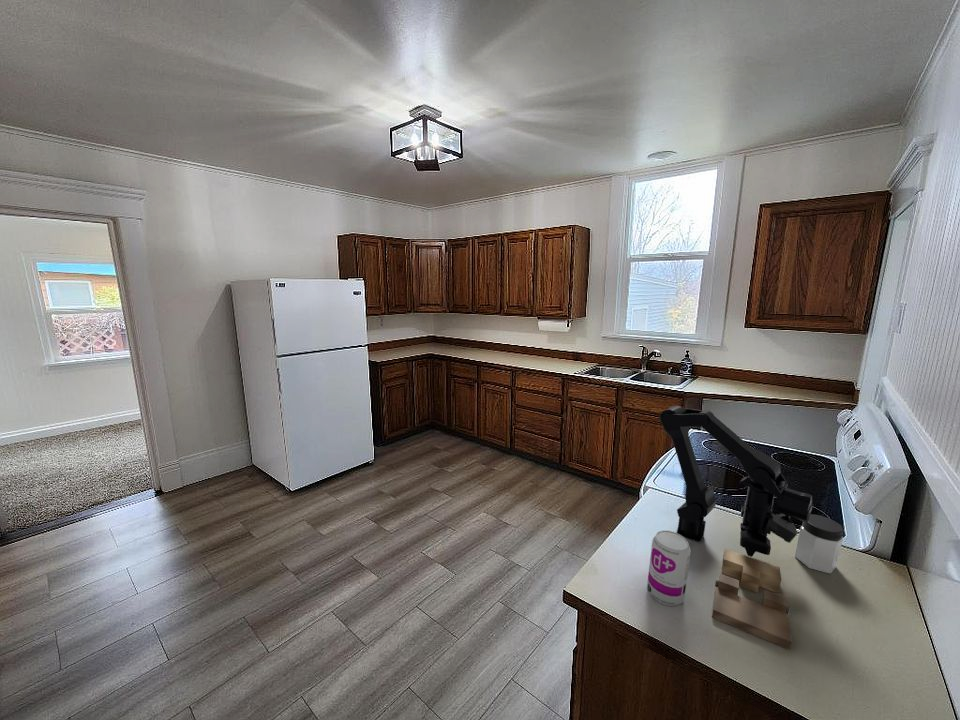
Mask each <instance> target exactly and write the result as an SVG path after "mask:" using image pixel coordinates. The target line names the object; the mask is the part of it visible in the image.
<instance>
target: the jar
mask: <svg viewBox="0 0 960 720" xmlns="http://www.w3.org/2000/svg"><path fill="white" fill-rule="evenodd" d="M844 531H845V530H844V527H843V526H842V525H841V524H840V523H838V522H836V521H835V520H833V519H831V518H829V517H827V516H826V517H825V516H823V515H819V514H812V513H811V514H810V517H809V520H808V522H804V521H802V525H801V526H800V527H799V533H798V538H797V543H796V548H795V552H794V557H795V558H796V559H797V560H799V561H800V562H802V563H801V564H804V565H805V566H806V567H807V568H808V569H811V570H815V571H819V572H822V573H825V574H832V573H833V572H834V570H835V569H836V568H837V565H838V561H839V556H840V552H841V548H842V544H843V539H844Z"/></svg>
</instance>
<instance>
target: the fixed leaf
mask: <svg viewBox="0 0 960 720" xmlns="http://www.w3.org/2000/svg"><path fill="white" fill-rule="evenodd" d="M718 577H719V578H718V579H715V584H714V586H715V590H714V596H713V606H712V615H711V617H712V618H714V619H716V620H717V621H720V622H723V623H726V624H728V625H729V626H733V627H734V628H737V629H740V630H741V631H745V632H746V633H749V634H752V635H754V636H757V637H759V638H760V639H764V640H766V641H767V642H768V641H769V643H773V644H775V645H778V646H780V647H783V648H785V649H787V650H791V645H792V637H791V636H792V635H791V628H790V627H791V625H790V618H789V612H790V606H788V604H787V597H786V596H783V595H780V594H779V593H776V592H773V591H771V590H769V591H768V589H763V590H764V591H763V596H762V602H761V603H758V602H757V601H753V600H750V599H748V598H745V597H743V596H740V595H739V589H740V579H738V578H735V577H732V576H729V575H727V574H724V573H719V576H718Z"/></svg>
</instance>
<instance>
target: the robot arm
mask: <svg viewBox="0 0 960 720" xmlns="http://www.w3.org/2000/svg"><path fill="white" fill-rule="evenodd" d="M659 420H660V423H661V425H662V427H663V429H664V432H665V433H666V434H667V435H668V436H669V437H670V439H671V440H672V443H673V447H674V451H675V453H676V457H677V460H678V462H679V466H680V470H681V472H682V476H683V480H684V483H685V495H684V497H685V502H684V503H683V504H682V505H680V506H679V507H678V508H677V509H676V512H677V517H678V518H679V519H678V525H677V529H676V532H675V533H678V534H680V535H681V536H683V537H684V538H685V539H686V538H687V539H689V540H692V541H696V542H700V543H701V542H702V539H703V538H704V536H705V531H706V524H707V523H706V520H705V517H707V516H708V515H709V514H710V513H711V511H713V509H714V508H715V507H716V505H717V504H716V503H717V501H718V498H717V497H716V495H715V492H714V487H713V486H709V487H708V485H706V483H705V482H704V480H703V478H702V475H701V471H700V469H699V464H698V462H697V459H696V458H697V457H696V454H695V452H694V449H693V445H692V442H691V439H690V435H689V432H690V427H701V428H702V429H703V430H704V431H706V432H707V433H708V434H709V435H710V436H711V437H712V438H713V439H715V441H717V442H718V443H719V444H720V445H721V446H723V447H724V449H726V450H727V451H728V452H729V453H730V454H732V455H733V456H734V457H735V459H737V460H738V462H739V464H740V465H741V467H742V470H744V472H745V473H746V474H747V476H745V477H742V478H741V480H740V481H739V484H741V485H743V486H747V493H746V499H745V501H744V505H743V506H741V510H740V517H741V518H742V522H740V533H739V534H740V535H739V536H740V539H739V546H741V547H742V548H744V549H745V553H746V556H748V557H751V558H753V556H754V554H755V553H759V554H762V555H766V556H769V555H771V549H772V548H771V547H772V546H771V540H770V539H769V538H768V535H771V533H772V534H774V535H775V536H777V537H779V538H781V539H782V540H784V541H785V542H786V543H789V544H790V543H791V542H792V541H793V540H794V539H795V537H796V536H797V535H798V530H797V527H796V526H795V524H794V522H791V521H792V519H791V518H794V519H796V520H799V521H802V522H803V521H804V522H808V520H809V517H810V514H812V510H813V495H812V494H809V493H805V492H801V491H797V490H795V489H793V488H792V489H791V488H789V487H788V485H789V483H788V482H787V481H786V478H785V477H784V476H783V474H782V471H781V465H780V463H779V462H778V460H776V459H774V458H773V457H771V456H769V455H768V454H766V453H765V452H763V451H760V450H758V449H756V448H754V447H752V446H751V445H749V444H748V443H747V442H746V441H744V439H742V438H741V437H740V436H738V434H736V433H735V432H734V431H732V429H731V428H730V427H728V426H727V425H726V424H725V423H724V422H722V421H721V420H720V419H719V418H717V417H716V416H715V414H714V413H713V412H711V411H710V410H708V409H706V410H701V409H700V410H699V409H694V408H684V407H682V406H680V405H673V406H671V407H669V408H666V409H665V410H663V411H662V412H661V413H660V415H659ZM775 496H776V497H775ZM774 500H775V502H774ZM773 506H774V507H775V508H776V511H777V512H779V513H780V514H774V513H773Z"/></svg>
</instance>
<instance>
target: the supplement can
mask: <svg viewBox="0 0 960 720" xmlns="http://www.w3.org/2000/svg"><path fill="white" fill-rule="evenodd" d="M650 550H651V551H650V558H649V566H648V575H647V584H646V588H647V591H648V593H649V594H650V596H652V598H654V599H655V601H657V602H659V603H660V604H661V605H664V606H665V605H666V606H670V607H673V606H674V607H675V606H677V605H678V606H679V605H681V604H682V603H683V602H684V601H685V594H686V588H687V580H688V574H689V566H690V557H691V552H692V550H691V548H690V544H689V542H688V540H687V539H686V537H683V536H681V535H680V534H678V533H676V532H675V531H672V530H660V531H657V532H656V534H655V536H653V537H652V541H651V549H650Z"/></svg>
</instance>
